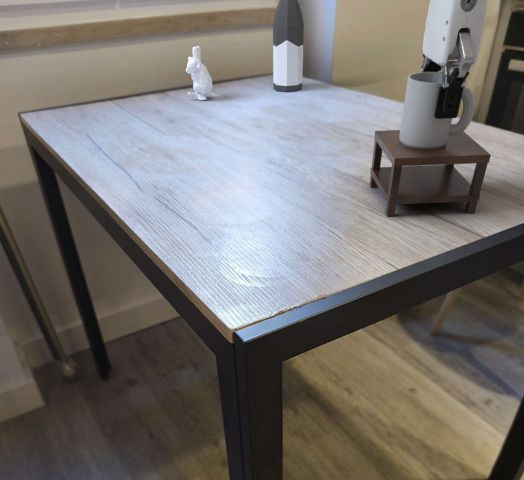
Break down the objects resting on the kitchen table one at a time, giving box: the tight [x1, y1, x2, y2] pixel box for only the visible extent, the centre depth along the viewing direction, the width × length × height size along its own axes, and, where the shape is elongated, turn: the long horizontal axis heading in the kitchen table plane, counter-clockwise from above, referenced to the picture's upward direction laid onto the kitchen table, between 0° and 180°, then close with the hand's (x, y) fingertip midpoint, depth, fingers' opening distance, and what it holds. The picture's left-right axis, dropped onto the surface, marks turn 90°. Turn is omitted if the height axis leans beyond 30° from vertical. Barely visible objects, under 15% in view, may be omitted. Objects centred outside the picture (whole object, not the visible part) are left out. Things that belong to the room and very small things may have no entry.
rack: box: [369, 129, 492, 217], centre depth 81 cm, size 14×13×9 cm
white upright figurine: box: [185, 45, 213, 101], centre depth 132 cm, size 8×7×12 cm
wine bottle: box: [272, 0, 305, 93], centre depth 133 cm, size 8×8×30 cm
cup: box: [399, 71, 476, 149], centre depth 75 cm, size 7×10×9 cm
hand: (435, 108), depth 75 cm, fingers open, 8 cm apart
